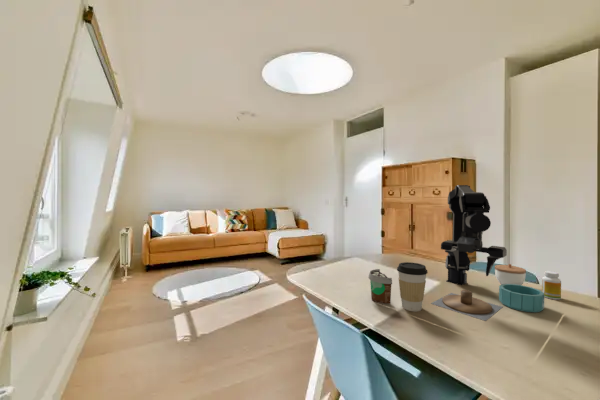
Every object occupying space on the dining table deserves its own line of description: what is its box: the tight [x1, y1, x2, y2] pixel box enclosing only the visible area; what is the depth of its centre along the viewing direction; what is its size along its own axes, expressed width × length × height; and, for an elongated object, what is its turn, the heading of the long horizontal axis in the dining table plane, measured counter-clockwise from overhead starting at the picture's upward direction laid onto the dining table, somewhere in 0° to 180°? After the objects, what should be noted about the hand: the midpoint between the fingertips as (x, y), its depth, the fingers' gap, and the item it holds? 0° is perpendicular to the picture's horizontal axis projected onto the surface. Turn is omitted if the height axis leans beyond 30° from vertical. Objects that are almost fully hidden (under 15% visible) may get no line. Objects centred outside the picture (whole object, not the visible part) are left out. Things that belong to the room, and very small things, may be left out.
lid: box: [441, 289, 492, 314], centre depth 95 cm, size 15×15×5 cm
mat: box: [430, 292, 503, 322], centre depth 95 cm, size 17×17×1 cm
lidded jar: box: [494, 263, 527, 285], centre depth 117 cm, size 11×11×9 cm
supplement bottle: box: [541, 270, 562, 301], centre depth 104 cm, size 5×5×10 cm
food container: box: [368, 268, 393, 305], centre depth 101 cm, size 12×6×10 cm, turn 5°
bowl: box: [498, 283, 545, 313], centre depth 95 cm, size 12×12×6 cm
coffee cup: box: [396, 261, 429, 312], centre depth 93 cm, size 10×10×15 cm
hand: (471, 272), depth 94 cm, fingers open, 9 cm apart
